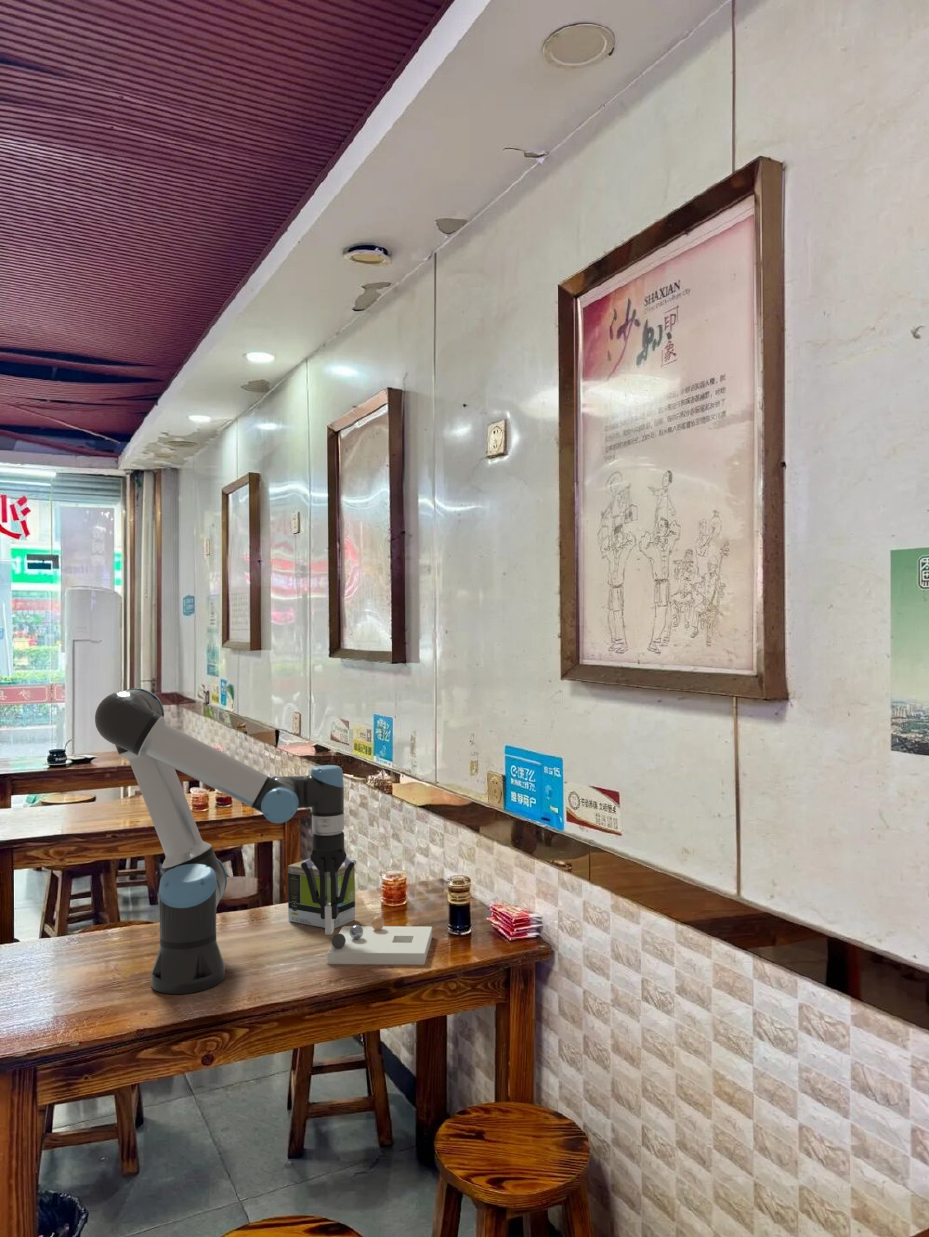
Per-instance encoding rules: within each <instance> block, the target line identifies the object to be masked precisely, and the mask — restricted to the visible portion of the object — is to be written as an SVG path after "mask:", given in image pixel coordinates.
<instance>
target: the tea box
mask: <svg viewBox="0 0 929 1237" xmlns="http://www.w3.org/2000/svg"><path fill="white" fill-rule="evenodd" d="M308 859H309V858H307V859H303V860H301V861H298V862H295V863H292V864H289V865H287V906H288V907H287V908H288V912H287V913H288V914H287V915H288V916H287V917H288V918H287V919H288V922H293V923H297V924H303V925H308V926H314V927H319V928H323V929H325V919H321V907H320V905H319V904H317V903H313V901H312V897H311V893H310V889H309V885H308V881H307V877H306V873H305V871H304V870H303V868H302V867H301V864H302V863H303V862H304V861H305V860H308ZM312 864H313V866H312V869H313V872H314V876H315V880H316V884H317V888H318V892H319V896H320V877H319V870H318V869H317V868H316V866H315V865H314V863H313V862H312ZM345 870H346V868H345V862H343V864H342V865H341V867H340V868H339V869H338V897H339V896H340V891H341V887H342V882H343V878H344V873H345ZM355 871H356V869H355V866H354V867H353V869H352V871H351V876H350V880H349V885H348V889H347V894H346V898H345V900H344V902H343V903H339V904H338V916H337V918H336V919H334V930H335V929H337V928H339V927H343V926H345V925H346V924H348V923H350V922H353V921H354V920H355V919H356V885H355V884H356V882H355V880H356V879H355V878H356V876H355V875H356V874H355V873H356V872H355ZM327 899H328V901H327V903H331V877H330V872H327Z"/></svg>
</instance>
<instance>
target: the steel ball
mask: <svg viewBox="0 0 929 1237" xmlns="http://www.w3.org/2000/svg"><path fill="white" fill-rule="evenodd" d="M351 926H352V927H351V929H350V936H351V937H352V938H353V939H359V938H361V937H362V935H363V929H362V927H361V925H360V924H354V925H351Z"/></svg>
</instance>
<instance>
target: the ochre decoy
mask: <svg viewBox="0 0 929 1237" xmlns="http://www.w3.org/2000/svg"><path fill="white" fill-rule="evenodd" d="M384 920H385V919H384V918H383V917H382V916H380V915H379V916H378V915H377V916H373V918H372V919H371V922H370V926H372V928H373V929H375V930H380V929H382V928H383V926H385V921H384Z"/></svg>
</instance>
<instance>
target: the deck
mask: <svg viewBox="0 0 929 1237" xmlns="http://www.w3.org/2000/svg"><path fill="white" fill-rule="evenodd" d="M352 926H353V925H349V926H346V925H342V926H341V929H340V931H339V933H338V934H342V935H344V937H345V939H346V942H345V945H344V946H343V947H342V948H335V947H334V946H333V945H332V944H331V945H330V947H329V949H328V951H327V952H326V962H327V964H326V965H414V966H415V965H419V966H421V965H426V964H425V963H426V961H427V957H428V953H429V950H430V948H431V943H432V939H433V926H413V925H412V926H410V925H409V926H399V925H398V926H395V925H394V926H390V925H389V926H388V925H387V926H386V925H384V926H383V928H382V929H380V930H375V929H373V928H372V926H371V925H370V926H367V925H365V926H364V925H362V926H361V925H360V926H361V927H362V929H363V935H362V937H361V938H359V939H353V938H352V937H351V936H350V929H351V927H352Z"/></svg>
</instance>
